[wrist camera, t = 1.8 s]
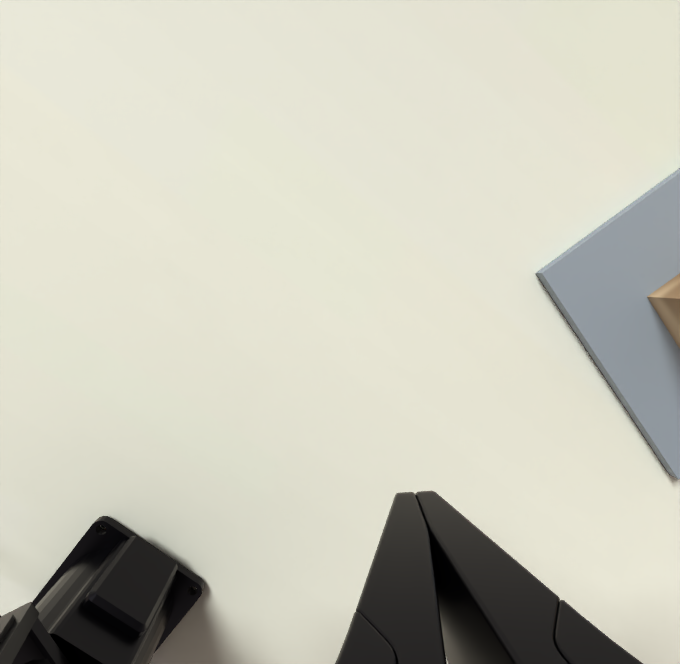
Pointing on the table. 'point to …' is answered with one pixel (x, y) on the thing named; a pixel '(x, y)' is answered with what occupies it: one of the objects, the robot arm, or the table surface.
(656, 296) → the oak block
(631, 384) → the mat
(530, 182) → the table surface
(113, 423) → the table surface
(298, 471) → the table surface
